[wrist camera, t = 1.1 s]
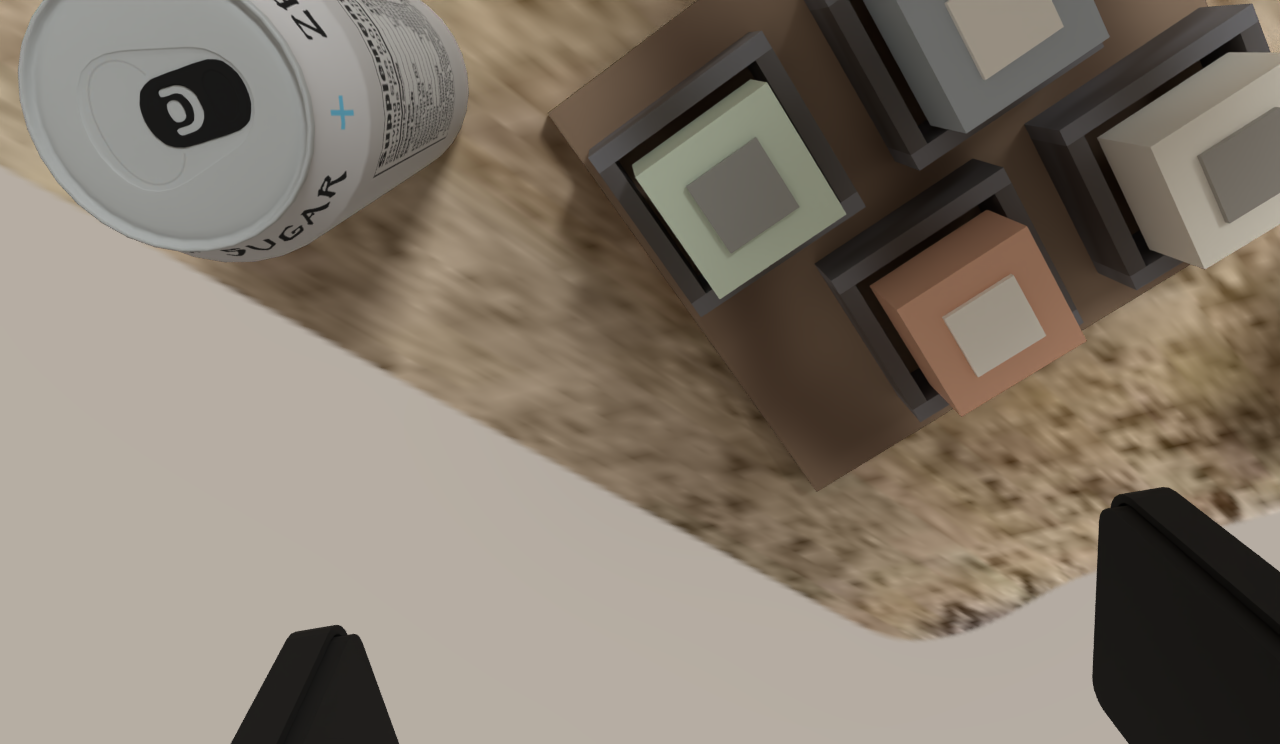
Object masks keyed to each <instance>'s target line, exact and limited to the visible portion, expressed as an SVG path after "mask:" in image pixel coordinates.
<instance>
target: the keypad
mask: <svg viewBox="0 0 1280 744" xmlns="http://www.w3.org/2000/svg"><path fill="white" fill-rule="evenodd" d="M1094 2H1095V4H1096V7H1097V9H1098V11H1099V14H1100V16H1101V18H1102V20H1103V23H1104V25H1105V27H1106V29H1107V32H1108V34H1109V36H1110V37H1109V38H1108V39H1106V40H1105V41H1103V42H1102V43H1100V44H1099V45H1097V46H1096V47H1094V48H1093V49H1091V50H1090V51H1088V52H1087V53H1085V54H1084V55H1082V56H1081V57H1080V58H1078V59H1077V60H1075V61H1074V62H1072V63H1071V64H1069V65H1068V66H1066V67H1065V68H1063V69H1062V70H1060V71H1059V72H1057V73H1056V74H1054V75H1053V76H1051V77H1050V78H1048V79H1047V80H1045V81H1044V82H1042V83H1041V84H1039V85H1038V86H1036V87H1035V88H1033V89H1032V90H1030V91H1029V92H1027V93H1026V94H1024V95H1023V96H1022V97H1020V98H1019V99H1017V100H1016V101H1014V102H1013V103H1011V104H1010V105H1008V106H1007V107H1005V108H1004V109H1002V110H1001V111H999V112H998V113H996V114H995V115H993V116H992V117H990V118H989V119H987V120H986V121H984V122H983V123H981V124H980V125H978V126H977V127H975V128H974V129H972V130H971V131H969V132H968V133H962V132H957V131H953V130H949V129H944V128H940V127H935V126H931V125H930V124H929V122H928V120H927V118H926V116H925V114H924V113H923V111H922V109H921V107H920V105H919V103H918V101H917V100H916V98H915V96H914V94H913V92H912V90H911V89H910V87H909V85H908V83H907V81H906V79H905V77H904V76H903V74H902V72H901V70H900V68H899V66H898V64H897V63H896V61H895V59H894V57H893V55H892V53H891V52H890V50H889V48H888V46H887V44H886V42H885V40H884V39H883V37H882V35H881V33H880V31H879V29H878V28H877V26H876V24H875V22H874V20H873V18H872V16H871V15H870V13H869V11H868V9H867V7H866V5H865V3H864V2H863V0H697V1H696V2H695V3H693V4H692V5H691V6H689V7H688V8H687V9H686V10H684V11H683V12H682V13H680V14H679V15H678V16H676V17H675V18H674V19H672V20H671V21H670V22H668V23H667V24H666V25H664V26H663V27H662V28H660V29H659V30H658V31H656V32H655V33H654V34H652V35H651V36H650V37H648V38H647V39H646V40H644V41H643V42H642V43H640V44H639V45H638V46H636V47H635V48H634V49H632V50H631V51H630V52H628V53H627V54H626V55H624V56H623V57H622V58H620V59H619V60H618V61H616V62H615V63H614V64H612V65H611V66H610V67H608V68H607V69H606V70H604V71H603V72H602V73H600V74H599V75H598V76H596V77H595V78H594V79H593V80H591V81H590V82H589V83H587V84H586V85H585V86H583V87H582V88H581V89H579V90H578V91H577V92H575V93H574V94H573V95H571V96H570V97H569V98H567V99H566V100H565V101H563V102H562V103H561V104H559V105H558V106H557V107H555V108H554V109H553V110H551V111H550V112H549V113H548V115H549V116H550V118H551V119H552V120H553V122H554V123H555V125H556V126H557V127H558V129H559V130H560V132H561V133H562V134H563V136H564V137H565V139H566V140H567V141H568V143H569V144H570V146H571V147H572V148H573V150H574V151H575V153H576V154H577V156H578V157H579V158H580V160H581V161H582V163H583V164H584V165H585V167H586V168H587V170H588V171H589V172H590V174H591V175H592V177H593V178H594V179H595V181H596V182H597V184H598V185H599V186H600V188H601V189H602V191H603V192H604V193H605V195H606V196H607V198H608V199H609V200H610V202H611V203H612V205H613V206H614V208H615V209H616V210H617V212H618V213H619V215H620V216H621V217H622V219H623V220H624V222H625V223H626V224H627V226H628V227H629V229H630V230H631V231H632V233H633V234H634V236H635V237H636V238H637V240H638V241H639V243H640V244H641V245H642V247H643V248H644V250H645V251H646V252H647V254H648V255H649V257H650V258H651V260H652V261H653V262H654V264H655V265H656V267H657V268H658V269H659V271H660V272H661V274H662V275H663V276H664V278H665V279H666V281H667V282H668V283H669V285H670V286H671V288H672V289H673V290H674V292H675V293H676V295H677V296H678V297H679V299H680V300H681V302H682V303H683V305H684V306H685V307H686V309H687V310H688V312H689V313H690V314H691V316H692V317H693V319H694V320H695V321H696V323H697V324H698V326H699V327H700V328H701V330H702V331H703V333H704V334H705V335H706V337H707V338H708V340H709V341H710V342H711V344H712V345H713V347H714V348H715V349H716V351H717V352H718V354H719V355H720V357H721V358H722V359H723V361H724V362H725V364H726V365H727V366H728V368H729V369H730V371H731V372H732V373H733V375H734V376H735V378H736V379H737V380H738V382H739V383H740V385H741V386H742V387H743V389H744V390H745V392H746V393H747V394H748V396H749V397H750V399H751V400H752V401H753V403H754V404H755V406H756V407H757V409H758V410H759V411H760V413H761V414H762V416H763V417H764V418H765V420H766V421H767V423H768V424H769V425H770V427H771V428H772V430H773V431H774V432H775V434H776V435H777V437H778V438H779V439H780V441H781V442H782V444H783V445H784V446H785V448H786V449H787V451H788V452H789V453H790V455H791V456H792V458H793V459H794V461H795V462H796V463H797V465H798V466H799V468H800V469H801V470H802V472H803V473H804V475H805V476H806V477H807V479H808V480H809V482H810V483H811V484H812V486H813V487H814V489H815V490H816V491H819V490H821V489H822V488H824V487H825V486H827V485H829V484H830V483H832V482H834V481H835V480H837V479H839V478H840V477H842V476H844V475H845V474H847V473H848V472H850V471H852V470H853V469H855V468H857V467H858V466H860V465H862V464H863V463H865V462H867V461H868V460H870V459H871V458H873V457H875V456H876V455H878V454H880V453H881V452H883V451H885V450H886V449H888V448H890V447H891V446H893V445H894V444H896V443H898V442H899V441H901V440H903V439H904V438H906V437H908V436H909V435H911V434H913V433H914V432H916V431H917V430H919V429H921V428H922V427H924V426H926V425H927V424H929V423H931V422H932V421H934V420H936V419H937V418H939V417H940V416H942V415H944V414H945V413H947V412H949V411H950V410H952V409H953V408H952V407H951V406H950V405H949V404H948V403H947V402H946V401H945V399H944V398H943V397H942V396H941V395H940V394H939V393H938V392H937V391H936V390H935V389H934V388H933V387H932V386H931V385H930V384H929V382H928V381H927V379H926V377H925V376H924V374H923V372H922V371H921V369H920V368H919V366H918V364H917V363H916V361H915V359H914V358H913V356H912V355H911V353H910V351H909V350H908V348H907V346H906V345H905V343H904V342H903V340H902V338H901V337H900V335H899V333H898V332H897V330H896V328H895V327H894V325H893V324H892V322H891V320H890V319H889V317H888V315H887V314H886V312H885V311H884V309H883V307H882V306H881V304H880V302H879V301H878V299H877V298H876V296H875V294H874V293H873V291H872V289H871V288H870V285H872V284H873V283H875V282H876V281H878V280H879V279H881V278H882V277H884V276H885V275H887V274H889V273H890V272H892V271H893V270H895V269H896V268H898V267H899V266H901V265H902V264H904V263H905V262H907V261H908V260H910V259H912V258H913V257H915V256H916V255H918V254H919V253H921V252H922V251H924V250H925V249H927V248H928V247H930V246H932V245H933V244H935V243H936V242H938V241H939V240H941V239H942V238H944V237H945V236H947V235H948V234H950V233H951V232H953V231H955V230H956V229H958V228H959V227H961V226H962V225H964V224H965V223H967V222H968V221H970V220H971V219H973V218H975V217H976V216H978V215H979V214H981V213H982V212H984V211H985V210H989V211H992V212H994V213H997V214H999V215H1001V216H1004V217H1006V218H1009V219H1011V220H1013V221H1016V222H1018V223H1021V224H1023V225H1025V226H1027V227H1028V229H1029V231H1030V233H1031V235H1032V237H1033V238H1034V240H1035V242H1036V244H1037V246H1038V248H1039V250H1040V252H1041V254H1042V256H1043V258H1044V260H1045V261H1046V263H1047V265H1048V267H1049V269H1050V271H1051V273H1052V275H1053V277H1054V279H1055V281H1056V283H1057V284H1058V286H1059V288H1060V290H1061V292H1062V294H1063V296H1064V298H1065V300H1066V302H1067V304H1068V306H1069V308H1070V309H1071V311H1072V313H1073V315H1074V317H1075V319H1076V321H1077V323H1078V325H1079V327H1080V329H1081V331H1082V330H1083V329H1085V328H1087V327H1088V326H1090V325H1092V324H1093V323H1095V322H1097V321H1098V320H1100V319H1102V318H1103V317H1105V316H1106V315H1108V314H1110V313H1111V312H1113V311H1115V310H1116V309H1118V308H1120V307H1121V306H1123V305H1125V304H1126V303H1128V302H1129V301H1131V300H1133V299H1134V298H1136V297H1138V296H1139V295H1141V294H1143V293H1144V292H1146V291H1148V290H1149V289H1151V288H1152V287H1154V286H1156V285H1157V284H1159V283H1161V282H1162V281H1164V280H1166V279H1167V278H1169V277H1171V276H1172V275H1174V274H1175V273H1177V272H1179V271H1180V270H1182V269H1184V268H1185V267H1187V266H1189V265H1190V264H1188V263H1186V262H1183V261H1180V260H1177V259H1175V258H1172V257H1169V256H1166V255H1164V254H1161V253H1158V252H1155V251H1153V250H1150V249H1149V248H1148V246H1147V243H1146V241H1145V239H1144V237H1143V235H1142V233H1141V231H1140V228H1139V226H1138V224H1137V222H1136V220H1135V218H1134V216H1133V214H1132V211H1131V209H1130V207H1129V205H1128V203H1127V201H1126V199H1125V196H1124V194H1123V192H1122V190H1121V188H1120V186H1119V184H1118V181H1117V179H1116V177H1115V175H1114V173H1113V171H1112V169H1111V166H1110V164H1109V162H1108V160H1107V158H1106V156H1105V154H1104V152H1103V149H1102V147H1101V145H1100V143H1099V141H1098V139H1097V137H1099V136H1100V135H1102V134H1104V133H1105V132H1107V131H1108V130H1110V129H1111V128H1113V127H1114V126H1116V125H1117V124H1119V123H1120V122H1122V121H1124V120H1125V119H1127V118H1128V117H1130V116H1131V115H1133V114H1134V113H1136V112H1137V111H1139V110H1140V109H1142V108H1143V107H1145V106H1147V105H1148V104H1150V103H1151V102H1153V101H1154V100H1156V99H1157V98H1159V97H1160V96H1162V95H1163V94H1165V93H1167V92H1168V91H1170V90H1171V89H1173V88H1174V87H1176V86H1177V85H1179V84H1180V83H1182V82H1183V81H1185V80H1186V79H1188V78H1190V77H1191V76H1193V75H1194V74H1196V73H1197V72H1199V71H1200V70H1202V69H1203V68H1205V67H1206V66H1208V65H1210V64H1211V63H1213V62H1214V61H1216V60H1217V59H1219V58H1220V57H1222V56H1223V55H1225V54H1226V53H1228V52H1265V53H1271V52H1270V50H1269V47H1268V44H1267V42H1266V39H1265V36H1264V34H1263V31H1262V28H1261V26H1260V23H1259V20H1258V18H1257V15H1256V12H1255V9H1254V7H1253V4H1240V5H1226V6H1212V7H1208V5H1207V2H1206V0H1094ZM750 79H751V80H757V81H762V82H767V83H768V85H769V87H770V88H771V90H772V92H773V93H774V95H775V97H776V98H777V100H778V101H779V103H780V105H781V106H782V108H783V110H784V111H785V113H786V115H787V116H788V118H789V120H790V121H791V123H792V125H793V126H794V128H795V130H796V131H797V133H798V135H799V136H800V138H801V140H802V141H803V143H804V145H805V146H806V148H807V150H808V151H809V153H810V154H811V156H812V158H813V159H814V161H815V163H816V164H817V166H818V168H819V169H820V171H821V173H822V174H823V176H824V178H825V179H826V181H827V183H828V184H829V186H830V188H831V189H832V191H833V193H834V194H835V196H836V198H837V199H838V201H839V203H840V204H841V206H842V207H843V209H844V211H845V212H846V215H845V216H843V217H842V218H840V219H839V220H837V221H836V222H834V223H833V224H831V225H830V226H828V227H827V228H825V229H824V230H822V231H821V232H819V233H818V234H816V235H815V236H813V237H812V238H810V239H809V240H807V241H806V242H804V243H803V244H801V245H800V246H798V247H797V248H795V249H794V250H792V251H791V252H790V253H788V254H787V255H785V256H784V257H782V258H781V259H779V260H778V261H776V262H775V263H773V264H772V265H770V266H769V267H767V268H766V269H764V270H763V271H761V272H760V273H758V274H757V275H755V276H754V277H752V278H751V279H749V280H748V281H746V282H745V283H743V284H742V285H740V286H739V287H737V288H736V289H734V290H733V291H732V292H730V293H729V294H727V295H726V296H724V297H723V298H721V299H719V298H718V296H717V295H716V293H715V292H714V291H713V289H712V288H711V286H710V285H709V283H708V282H707V280H706V279H705V278H704V276H703V275H702V273H701V272H700V270H699V269H698V267H697V266H696V265H695V263H694V262H693V260H692V259H691V257H690V256H689V254H688V253H687V252H686V250H685V249H684V247H683V246H682V244H681V243H680V241H679V240H678V238H677V237H676V236H675V234H674V233H673V231H672V230H671V228H670V227H669V225H668V224H667V223H666V221H665V220H664V218H663V217H662V215H661V214H660V212H659V211H658V210H657V208H656V207H655V205H654V204H653V202H652V201H651V199H650V198H649V197H648V195H647V194H646V192H645V191H644V189H643V188H642V186H641V185H640V184H639V182H638V181H637V179H636V178H635V175H634V171H633V167H632V164H634V163H635V162H637V161H638V160H639V159H641V158H642V157H644V156H645V155H646V154H648V153H649V152H650V151H652V150H653V149H655V148H656V147H657V146H659V145H660V144H662V143H663V142H664V141H666V140H667V139H668V138H670V137H671V136H673V135H674V134H675V133H677V132H678V131H680V130H681V129H682V128H684V127H685V126H686V125H688V124H689V123H691V122H692V121H693V120H695V119H696V118H698V117H699V116H700V115H702V114H703V113H704V112H706V111H707V110H709V109H710V108H711V107H713V106H714V105H715V104H717V103H718V102H720V101H721V100H722V99H724V98H725V97H727V96H728V95H729V94H731V93H732V92H733V91H735V90H736V89H738V88H739V87H740V86H742V85H743V84H745V83H746V82H747V81H749V80H750Z"/></svg>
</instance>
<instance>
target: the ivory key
mask: <svg viewBox="0 0 1280 744" xmlns="http://www.w3.org/2000/svg"><path fill="white" fill-rule="evenodd" d="M1097 139H1098V141H1099V143H1100V145H1101V147H1102V149H1103V152H1104V154H1105V156H1106V158H1107V160H1108V162H1109V164H1110V166H1111V169H1112V171H1113V173H1114V175H1115V177H1116V179H1117V181H1118V184H1119V186H1120V188H1121V190H1122V192H1123V194H1124V196H1125V199H1126V201H1127V203H1128V205H1129V207H1130V209H1131V211H1132V214H1133V216H1134V218H1135V220H1136V222H1137V224H1138V226H1139V228H1140V231H1141V233H1142V235H1143V237H1144V239H1145V241H1146V243H1147V246H1148V248H1149V249H1150V250H1153V251H1155V252H1158V253H1161V254H1164V255H1166V256H1169V257H1172V258H1175V259H1177V260H1180V261H1183V262H1186V263H1188V264H1191V265H1194V266H1197V267H1199V268H1202V269H1206V268H1208V267H1210V266H1211V265H1213V264H1215V263H1216V262H1218V261H1220V260H1221V259H1223V258H1225V257H1226V256H1228V255H1230V254H1231V253H1233V252H1235V251H1236V250H1238V249H1239V248H1241V247H1243V246H1244V245H1246V244H1248V243H1249V242H1251V241H1253V240H1254V239H1256V238H1258V237H1259V236H1261V235H1263V234H1264V233H1266V232H1268V231H1269V230H1271V229H1273V228H1274V227H1276V226H1277V225H1279V224H1280V53H1265V52H1228V53H1226V54H1225V55H1223V56H1222V57H1220V58H1219V59H1217V60H1216V61H1214V62H1213V63H1211V64H1210V65H1208V66H1206V67H1205V68H1203V69H1202V70H1200V71H1199V72H1197V73H1196V74H1194V75H1193V76H1191V77H1190V78H1188V79H1186V80H1185V81H1183V82H1182V83H1180V84H1179V85H1177V86H1176V87H1174V88H1173V89H1171V90H1170V91H1168V92H1167V93H1165V94H1163V95H1162V96H1160V97H1159V98H1157V99H1156V100H1154V101H1153V102H1151V103H1150V104H1148V105H1147V106H1145V107H1143V108H1142V109H1140V110H1139V111H1137V112H1136V113H1134V114H1133V115H1131V116H1130V117H1128V118H1127V119H1125V120H1124V121H1122V122H1120V123H1119V124H1117V125H1116V126H1114V127H1113V128H1111V129H1110V130H1108V131H1107V132H1105V133H1104V134H1102V135H1100V136H1099V137H1097Z"/></svg>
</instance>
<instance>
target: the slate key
mask: <svg viewBox="0 0 1280 744" xmlns="http://www.w3.org/2000/svg"><path fill="white" fill-rule="evenodd" d="M863 2H864V3H865V5H866V7H867V9H868V11H869V13H870V15H871V16H872V18H873V20H874V22H875V24H876V26H877V28H878V29H879V31H880V33H881V35H882V37H883V39H884V40H885V42H886V44H887V46H888V48H889V50H890V52H891V53H892V55H893V57H894V59H895V61H896V63H897V64H898V66H899V68H900V70H901V72H902V74H903V76H904V77H905V79H906V81H907V83H908V85H909V87H910V89H911V90H912V92H913V94H914V96H915V98H916V100H917V101H918V103H919V105H920V107H921V109H922V111H923V113H924V114H925V116H926V118H927V120H928V122H929V124H930V125H931V126H935V127H940V128H944V129H949V130H953V131H957V132H962V133H968V132H969V131H971V130H972V129H974V128H975V127H977V126H978V125H980V124H981V123H983V122H984V121H986V120H987V119H989V118H990V117H992V116H993V115H995V114H996V113H998V112H999V111H1001V110H1002V109H1004V108H1005V107H1007V106H1008V105H1010V104H1011V103H1013V102H1014V101H1016V100H1017V99H1019V98H1020V97H1022V96H1023V95H1024V94H1026V93H1027V92H1029V91H1030V90H1032V89H1033V88H1035V87H1036V86H1038V85H1039V84H1041V83H1042V82H1044V81H1045V80H1047V79H1048V78H1050V77H1051V76H1053V75H1054V74H1056V73H1057V72H1059V71H1060V70H1062V69H1063V68H1065V67H1066V66H1068V65H1069V64H1071V63H1072V62H1074V61H1075V60H1077V59H1078V58H1080V57H1081V56H1082V55H1084V54H1085V53H1087V52H1088V51H1090V50H1091V49H1093V48H1094V47H1096V46H1097V45H1099V44H1100V43H1102V42H1103V41H1105V40H1106V39H1108V38H1109V37H1110V36H1109V34H1108V32H1107V29H1106V27H1105V25H1104V23H1103V20H1102V18H1101V16H1100V14H1099V11H1098V9H1097V7H1096V4H1095V2H1094V0H863Z"/></svg>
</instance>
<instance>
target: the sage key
mask: <svg viewBox="0 0 1280 744" xmlns="http://www.w3.org/2000/svg"><path fill="white" fill-rule="evenodd" d="M632 167H633V171H634V175H635V178H636V179H637V181H638V182H639V184H640V185H641V186H642V188H643V189H644V191H645V192H646V194H647V195H648V197H649V198H650V199H651V201H652V202H653V204H654V205H655V207H656V208H657V210H658V211H659V212H660V214H661V215H662V217H663V218H664V220H665V221H666V223H667V224H668V225H669V227H670V228H671V230H672V231H673V233H674V234H675V236H676V237H677V238H678V240H679V241H680V243H681V244H682V246H683V247H684V249H685V250H686V252H687V253H688V254H689V256H690V257H691V259H692V260H693V262H694V263H695V265H696V266H697V267H698V269H699V270H700V272H701V273H702V275H703V276H704V278H705V279H706V280H707V282H708V283H709V285H710V286H711V288H712V289H713V291H714V292H715V293H716V295H717V296H718V298H719V299H721V298H723V297H724V296H726V295H727V294H729V293H730V292H732V291H733V290H734V289H736V288H737V287H739V286H740V285H742V284H743V283H745V282H746V281H748V280H749V279H751V278H752V277H754V276H755V275H757V274H758V273H760V272H761V271H763V270H764V269H766V268H767V267H769V266H770V265H772V264H773V263H775V262H776V261H778V260H779V259H781V258H782V257H784V256H785V255H787V254H788V253H790V252H791V251H792V250H794V249H795V248H797V247H798V246H800V245H801V244H803V243H804V242H806V241H807V240H809V239H810V238H812V237H813V236H815V235H816V234H818V233H819V232H821V231H822V230H824V229H825V228H827V227H828V226H830V225H831V224H833V223H834V222H836V221H837V220H839V219H840V218H842V217H843V216H845V215H846V212H845V211H844V209H843V207H842V206H841V204H840V203H839V201H838V199H837V198H836V196H835V194H834V193H833V191H832V189H831V188H830V186H829V184H828V183H827V181H826V179H825V178H824V176H823V174H822V173H821V171H820V169H819V168H818V166H817V164H816V163H815V161H814V159H813V158H812V156H811V154H810V153H809V151H808V150H807V148H806V146H805V145H804V143H803V141H802V140H801V138H800V136H799V135H798V133H797V131H796V130H795V128H794V126H793V125H792V123H791V121H790V120H789V118H788V116H787V115H786V113H785V111H784V110H783V108H782V106H781V105H780V103H779V101H778V100H777V98H776V97H775V95H774V93H773V92H772V90H771V88H770V87H769V85H768V83H767V82H762V81H757V80H751V79H750V80H749V81H747V82H746V83H745V84H743V85H742V86H740V87H739V88H738V89H736V90H735V91H733V92H732V93H731V94H729V95H728V96H727V97H725V98H724V99H722V100H721V101H720V102H718V103H717V104H715V105H714V106H713V107H711V108H710V109H709V110H707V111H706V112H704V113H703V114H702V115H700V116H699V117H698V118H696V119H695V120H693V121H692V122H691V123H689V124H688V125H686V126H685V127H684V128H682V129H681V130H680V131H678V132H677V133H675V134H674V135H673V136H671V137H670V138H668V139H667V140H666V141H664V142H663V143H662V144H660V145H659V146H657V147H656V148H655V149H653V150H652V151H650V152H649V153H648V154H646V155H645V156H644V157H642V158H641V159H639V160H638V161H637V162H635V163H634V164H632Z"/></svg>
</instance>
